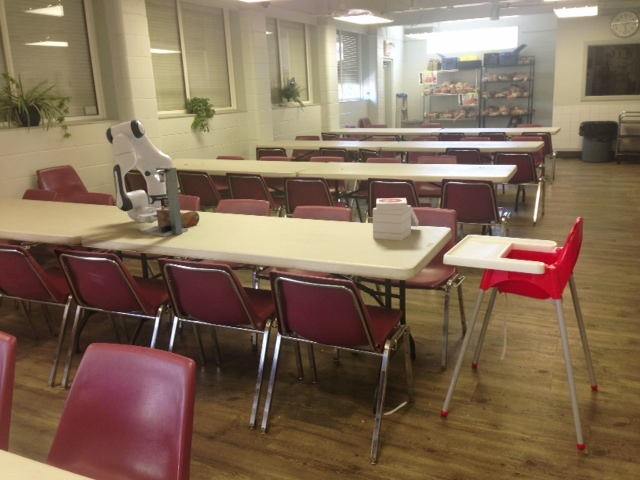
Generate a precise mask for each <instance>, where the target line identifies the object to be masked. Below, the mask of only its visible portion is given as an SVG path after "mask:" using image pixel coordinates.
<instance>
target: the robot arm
mask: <svg viewBox="0 0 640 480" xmlns="http://www.w3.org/2000/svg"><path fill="white" fill-rule="evenodd" d="M105 136H106V137H105V138H106V139H107V142H109V144H111V145H112V150H113V153H114V157H115V165H114V166H113V170H112V171H113V173H112V175H113V181H114V182H113V183H114V188H115V204H116V207H117V208H118V210H120V211H123V212H127V216H128V217H129V219H131V220H132V221H136V222H140V223H143V224H145V223H147V224H153V223H154V222H156V221H157V222H158V220H159V217H157V210H161V209H162V208H161V198H162V197H164V196H168V192H167V185H166V181H165V182H162V183H160V180H159V173H158V174H152V175H150V176H145V171H150V172H151V171H156V168H157V167H173V166H174V162H173V159H172V158H171V156H170V155H167V154H165V153H164V152H162V151H161V150H160V149H158V148H157V147H156V146H155V145H154V144H153V143H152V141H151V140H150V138H149V136H148V135H147V134H146V129H145V127H144V124H143V123H142V122H141V121H140V120H139V119H138V120H137V119H133V120H129V121H124V122H121V123H117V124H116V125H113V126H110V127H108V128H106V132H105ZM134 167H136V169H137V170H138V171H139V172H140V173H141V175H142V176H143V178H144V180H145V181H146V188H147V192H146V191H145V190H143V189H138V190H137V189H136V190H133V191H128V192H127V190H126V184H125V183H126V182H125V176H126V174H127V173H128V172H129V171H131V170H132V169H134ZM180 213H184V211H183V210H180Z"/></svg>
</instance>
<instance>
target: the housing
mask: <svg viewBox="0 0 640 480" xmlns="http://www.w3.org/2000/svg"><path fill="white" fill-rule="evenodd" d="M161 208H162V209H161V210H157V217H159V220H157V227H158V229H159V230H161V227H163V226H167V225H171V221H170V211H169V209H164V206H161Z"/></svg>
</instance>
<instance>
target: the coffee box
mask: <svg viewBox="0 0 640 480" xmlns="http://www.w3.org/2000/svg"><path fill="white" fill-rule="evenodd" d="M161 206H164V209H169V201H168V196H164V197H162V198H161Z"/></svg>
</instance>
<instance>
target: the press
mask: <svg viewBox="0 0 640 480" xmlns="http://www.w3.org/2000/svg"><path fill="white" fill-rule="evenodd" d="M152 174H158V175H159V180H160V183H162V182H165V183H166V192H167V194H168V201H169V211H170V221H171V225H167V226H163V227H161V230H159V229H158V226H155V227H150V228H146V229H142V230H141V234H145V233H146V234H147V235H153V236H156V235H157V237H163V238H166V237H170V236H179V235H183V233H186V232H189V228H188V227H186V228H182V224H181V214H180V211H181V205H180V196H179V195H180V194H179V185H178V174H177V167H173V166H172V167H157V168H156V171H151V172H150V171H145V176H150V175H152ZM185 231H186V232H185Z"/></svg>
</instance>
